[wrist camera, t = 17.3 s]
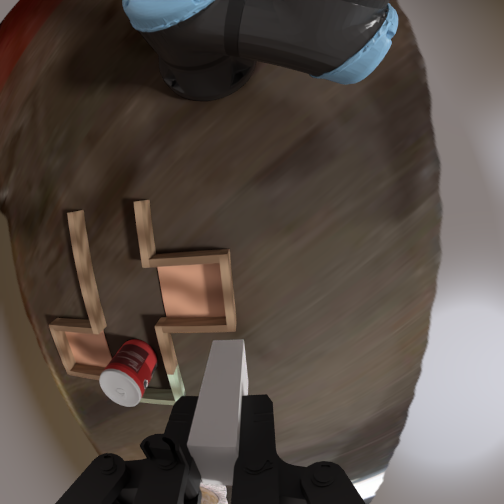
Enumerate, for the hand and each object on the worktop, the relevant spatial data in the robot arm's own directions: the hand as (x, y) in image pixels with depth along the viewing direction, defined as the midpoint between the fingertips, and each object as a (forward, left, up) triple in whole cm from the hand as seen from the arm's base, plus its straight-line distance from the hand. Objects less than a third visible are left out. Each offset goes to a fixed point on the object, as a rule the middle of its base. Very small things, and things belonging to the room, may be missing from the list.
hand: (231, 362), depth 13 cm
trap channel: (+10, -22, -30) cm, 39 cm away
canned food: (+20, -22, -31) cm, 43 cm away
